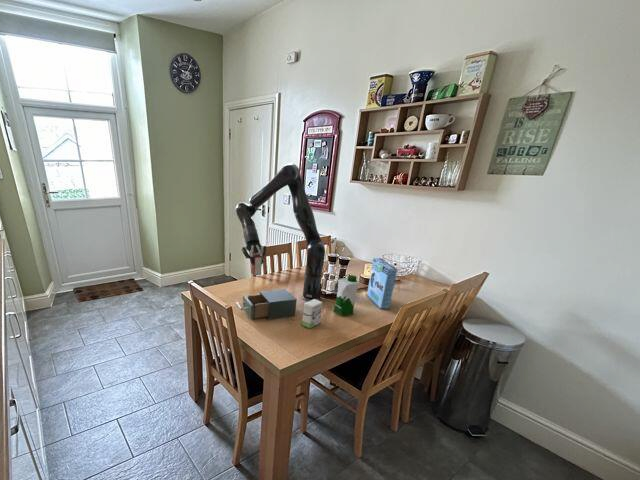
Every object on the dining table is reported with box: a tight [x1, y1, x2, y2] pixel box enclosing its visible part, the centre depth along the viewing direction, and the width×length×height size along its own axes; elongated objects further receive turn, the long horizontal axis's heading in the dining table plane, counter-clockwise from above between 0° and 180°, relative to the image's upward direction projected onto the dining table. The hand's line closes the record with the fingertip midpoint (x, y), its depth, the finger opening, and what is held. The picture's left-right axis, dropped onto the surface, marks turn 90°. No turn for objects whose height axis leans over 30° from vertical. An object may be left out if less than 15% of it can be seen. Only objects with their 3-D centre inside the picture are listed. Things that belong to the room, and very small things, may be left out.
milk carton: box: [333, 274, 360, 317], centre depth 169 cm, size 9×9×20 cm
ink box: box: [301, 299, 323, 329], centre depth 158 cm, size 9×5×12 cm, turn 132°
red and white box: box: [250, 253, 263, 276], centre depth 174 cm, size 4×5×10 cm
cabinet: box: [259, 288, 298, 320], centre depth 171 cm, size 15×14×10 cm
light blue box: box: [366, 257, 398, 310], centre depth 182 cm, size 20×5×23 cm, turn 2°
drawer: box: [235, 293, 269, 321], centre depth 167 cm, size 18×13×8 cm
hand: (257, 264), depth 172 cm, fingers closed on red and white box, 4 cm apart
